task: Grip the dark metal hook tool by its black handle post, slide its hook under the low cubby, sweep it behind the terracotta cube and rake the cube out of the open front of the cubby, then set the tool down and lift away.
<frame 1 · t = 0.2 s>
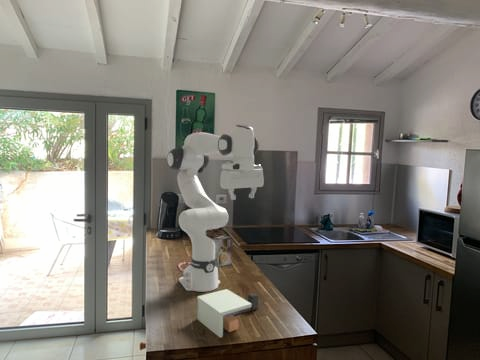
hand: (242, 198, 147), 47 cm above the worktop, tool pointing down, fingers open, 8 cm apart
cube: (230, 328, 135), on the worktop
hook tool: (252, 308, 153), on the worktop
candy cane: (184, 268, 203), on the worktop
cubby: (223, 322, 139), on the worktop
coffee box: (221, 264, 210), on the worktop
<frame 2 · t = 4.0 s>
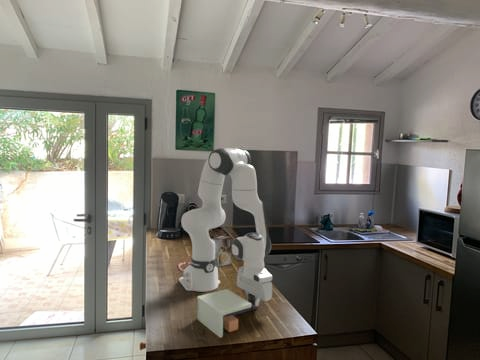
hand: (253, 303, 153), 2 cm above the worktop, tool pointing down, fingers closed on hook tool, 3 cm apart
hook tool: (252, 308, 153), on the worktop, touching gripper
everything else where it was.
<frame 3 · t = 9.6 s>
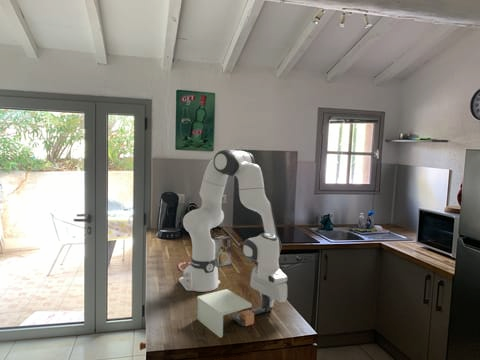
hand: (267, 304, 151), 3 cm above the worktop, tool pointing down, fingers closed on hook tool, 3 cm apart
cube: (246, 322, 140), on the worktop
hook tool: (267, 309, 151), on the worktop, touching gripper
everything else where it was.
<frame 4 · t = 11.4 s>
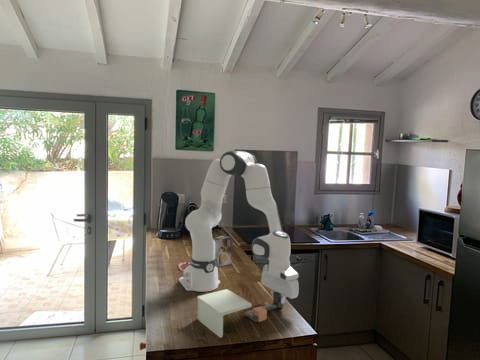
hand: (278, 301, 154), 3 cm above the worktop, tool pointing down, fingers closed on hook tool, 3 cm apart
cube: (259, 318, 144), on the worktop, touching hook tool
hook tool: (278, 306, 154), on the worktop, touching cube, gripper
everything else where it was.
when the fingers open (2 cm above the worktop, at t = 12.3 s): hook tool stays where it is, on the worktop.
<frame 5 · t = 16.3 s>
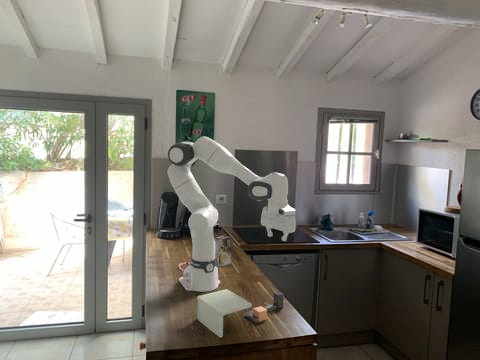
hand: (276, 238, 164), 27 cm above the worktop, tool pointing down, fingers open, 8 cm apart
cube: (259, 318, 144), on the worktop
hook tool: (278, 307, 154), on the worktop
everything else where it was.
at the end: cube inside the target area (2.8 cm from its centre), on the worktop; cube tilted 0°; the gripper is holding nothing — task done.
